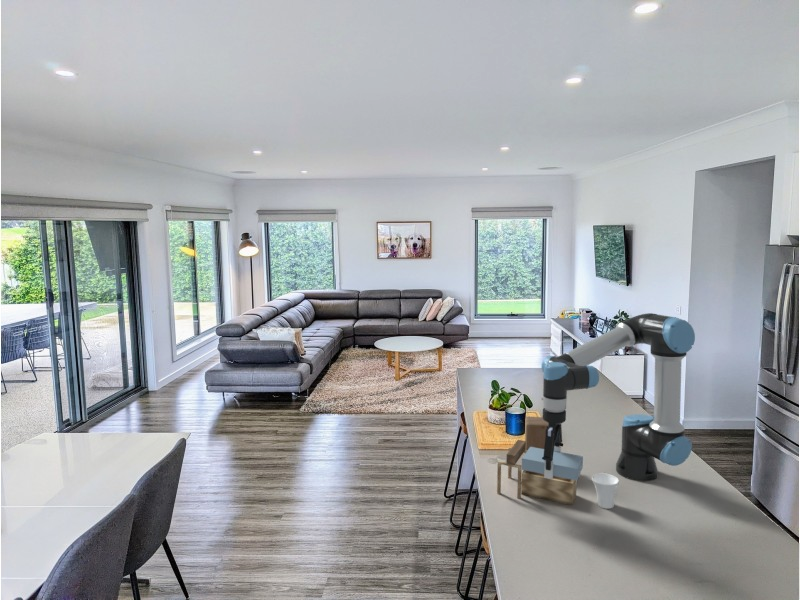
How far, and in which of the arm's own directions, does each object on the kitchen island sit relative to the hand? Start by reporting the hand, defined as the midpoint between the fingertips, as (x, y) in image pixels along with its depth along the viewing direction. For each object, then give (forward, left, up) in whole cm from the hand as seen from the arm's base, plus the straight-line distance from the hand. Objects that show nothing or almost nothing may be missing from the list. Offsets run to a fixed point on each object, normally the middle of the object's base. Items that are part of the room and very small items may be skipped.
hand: (552, 471), depth 183 cm
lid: (0, 0, +1) cm, 1 cm away
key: (+16, -12, -2) cm, 20 cm away
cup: (-16, -13, -15) cm, 25 cm away
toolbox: (+7, -12, -15) cm, 20 cm away
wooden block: (+12, -32, -15) cm, 37 cm away
